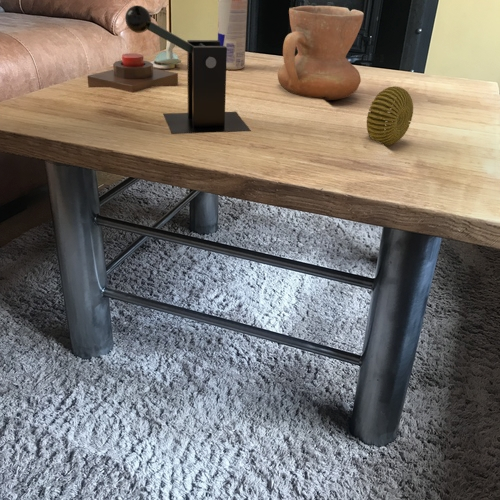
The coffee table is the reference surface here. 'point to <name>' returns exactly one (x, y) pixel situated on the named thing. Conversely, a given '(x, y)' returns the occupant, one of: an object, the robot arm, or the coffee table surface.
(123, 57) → the button
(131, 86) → the button block
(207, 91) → the switch bracket
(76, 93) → the coffee table surface
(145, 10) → the switch lever
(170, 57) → the pacifier
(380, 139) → the sculpture
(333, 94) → the ceramic jug
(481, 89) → the coffee table surface
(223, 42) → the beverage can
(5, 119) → the coffee table surface
